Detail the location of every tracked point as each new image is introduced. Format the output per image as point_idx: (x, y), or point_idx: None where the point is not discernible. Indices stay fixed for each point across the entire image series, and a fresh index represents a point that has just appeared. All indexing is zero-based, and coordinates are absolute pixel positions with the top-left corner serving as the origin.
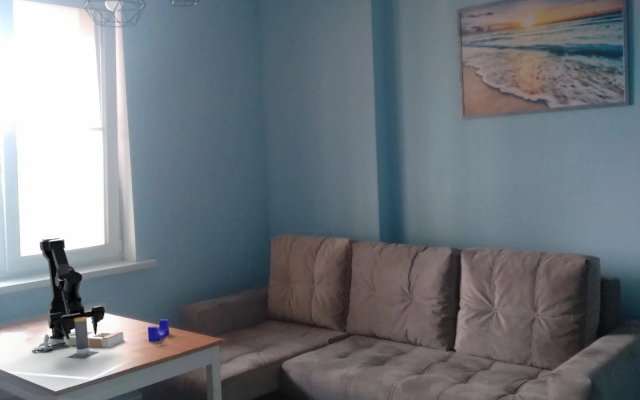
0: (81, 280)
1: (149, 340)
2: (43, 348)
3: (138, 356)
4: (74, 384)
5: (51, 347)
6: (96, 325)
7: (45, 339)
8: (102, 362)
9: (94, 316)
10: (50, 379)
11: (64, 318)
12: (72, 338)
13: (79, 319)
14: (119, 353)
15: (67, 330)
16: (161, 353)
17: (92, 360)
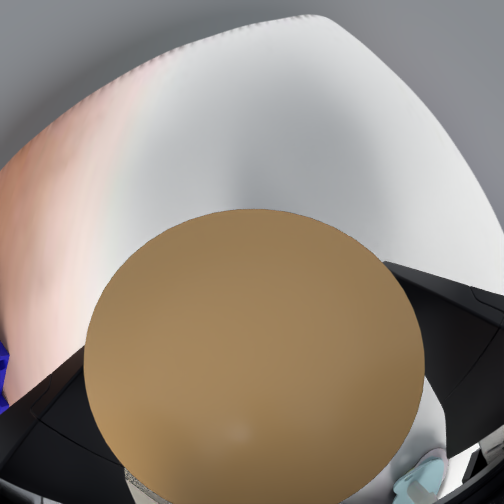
0: None
1: (1, 353)
2: (437, 459)
3: (56, 182)
4: (285, 21)
5: (406, 474)
6: (72, 357)
7: (437, 499)
8: (177, 157)
9: (18, 437)
10: (366, 72)
11: (496, 487)
12: None
13: (277, 225)
14: (91, 268)
15: (427, 287)
16: (13, 188)
17: (215, 211)
